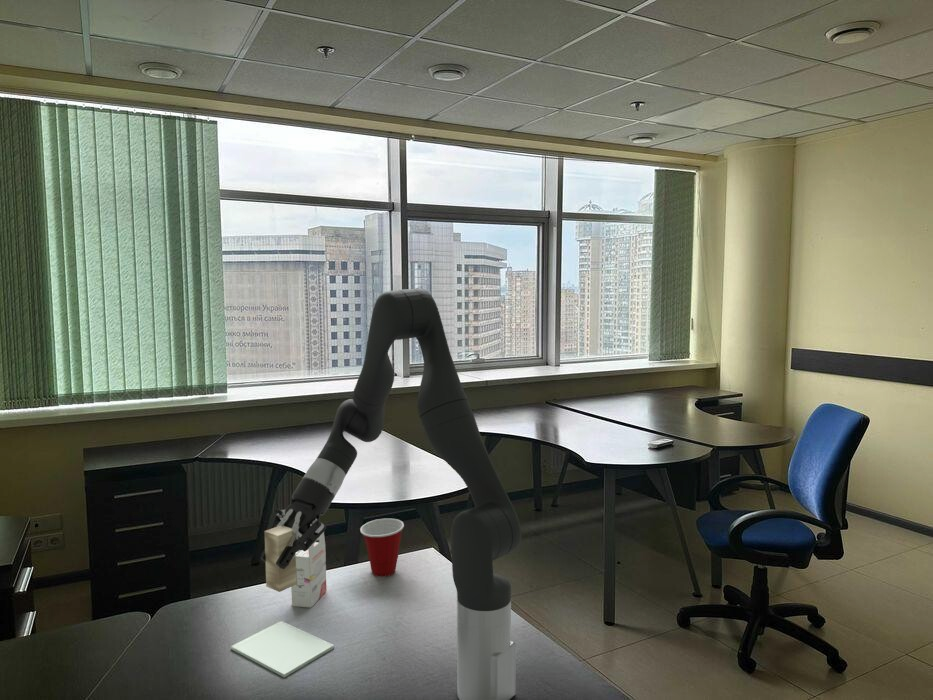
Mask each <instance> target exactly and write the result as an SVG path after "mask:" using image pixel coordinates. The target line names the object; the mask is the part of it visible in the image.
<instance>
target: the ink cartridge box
mask: <svg viewBox="0 0 933 700" xmlns="http://www.w3.org/2000/svg"><path fill="white" fill-rule="evenodd" d="M317 541H318V542H317ZM306 542H307V541H305V542H304V543H306ZM326 551H327V550H326V540H325V531H324V532H323V533H322V534H321V535H320V536H319V538H318V539H317V540H316V541H315V542H314V543H313V544H312V545H311V546H310V547H309V548H308V550H307V551H303V550H299V551H298V552H296V585H294V586H292V587H290V588H291V589H290V592H291V606H292V607H302V608H312V607H313V606H315V604H316V603H317V602H318V600H319V599H321V597H322V596H323V595H324V594H325V593H326V591H327V563H326V561H327V558H326V555H327V554H326Z"/></svg>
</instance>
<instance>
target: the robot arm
mask: <svg viewBox="0 0 933 700" xmlns="http://www.w3.org/2000/svg"><path fill="white" fill-rule="evenodd" d="M371 314H372V315H371V319H370V325H369V330H368V335H367V342H366V348H365V354H364V361H363V365H362V368H361V371H360V373H359V376H358V377H357V381H356V384H355V387H354V389H353V391H352V398H349V399H345V400H344V401H342V403H340V405H339V406H338V408H337V410H336V413H335V417H334V421H333V424H332V428H331V431H330V434H329V436H328V438H327V440H326V442H325V443H324V446H323V447H322V449H321V451H320V452H319V454H318V455H317V457H316V459H315V460H314V461H313V463H311V465H310V466H309V468H308V469H307V470H306V472H305V474H304V476H303V477H302V478H301V480H300V481H299V483H298V485H297V487H295V488H296V489H295V490H294V491H293V493H292V495H291V499H292V501H291V503H290V504H289V505H288V506H287V507H286V508H285V509H280V508H278V507H276V508H274V509H273V511H272V515H271V517H270V519H269V522H268V525H267V528H266V530H265V531H267V530H269V529H272V528H275V527H278V526H286V527H289V528H292V530H293V531H292V536H291V538H290V540H289V542H288V547H287V546H286V547H285V549H284V550H283V552H282V554H281V555H280V557H279V558H278V560H277V562H276V565H277V566H278V567H280V568H282V569H285V568H286V567H287V566H288V565H289V563H290V562H291V560H292V558H293V556H294V555H295V553H296V552H298V551H299V550H303V551H307V550H308V548H309V547H310V546H311V545H312V544H313V543H314V542H315V541H316V542H317V539H318V538H319V536H320V535H321V534H322V533H323V532H324V533H325V531H326V530H327V526H326V525H325V524H324V523H322V522H321V521H320V517H321V516H324V515H325V514H326V512H327V510H328V509H329V507H330V506H331V504H332V501H333V500H334V499H335V497H336V495H337V494H338V492H339V490H340V489H341V486H342V485H343V482H344V480H345V478H346V476H347V474H348V472H349V471H350V469H351V468H352V466H353V464H354V462H355V461H356V459H357V456H358V451H357V449H356V447H355V446H354V445H353V444H352V443H351V442H349V440H347V439H346V438H345V437H344V432H345V433H347V434H348V435H351V436H352V437H354V438H356V439H358V440H360V441H362V442H364V443H371V442H374V441H376V440H377V439H378V438H379V437H380V436H381V434H382V432H383V430H384V426H385V410H386V409H385V407H386V406H385V405H386V402H387V399H388V397H389V395H390V392H391V391H392V387H393V386H394V385H393V384H394V381H395V370H394V367H393V364H392V362H391V359H390V356H389V351H390V348H391V347H392V345H393V343H394V342H395V341H396V340H397V341H401V340H404V339H405V340H408V339H414V338H416V340H417V342H418V344H419V347H420V350H421V354H422V358H423V359H422V360H423V370H422V371H423V372H422V377H421V380H420V385H419V390H418V395H417V403H416V404H417V405H416V406H417V407H416V408H417V414H418V416H419V420H420V422H421V425H422V428H423V430H424V433H425V436H426V439H427V441H428V443H429V444H430V446H431V448H432V449H433V450H434V452H435V453H437V455H438V456H439V457H440V458H441V459H442V460H443V461H445V463H447V465H449V466H450V467H451V468H452V469H453V470H454V472H456V473H457V475H459V476H460V478H461V479H462V481H463V482H464V484H465V486H466V487H467V490H468V492H469V494H470V496H471V498H472V501H473V504H474V507H472V508H469V509H465V510H463V511H461V512H459V513H458V514H457V515H456V516H455V517H454V519H453V521H452V524H451V530H450V548H451V549H450V551H451V552H450V554H451V567H452V568H451V570H452V579H453V583H454V587H455V589H456V603H457V604H456V605H457V606H456V611H457V612H456V614H457V615H456V625H457V626H456V627H457V628H456V636H457V637H456V638H457V639H456V646H457V647H456V652H457V653H456V655H457V657H456V664H457V665H456V670H457V671H456V674H457V675H456V676H457V678H456V680H457V682H456V684H457V685H456V687H457V688H456V689H457V690H456V692H457V693H456V694H457V697H458V699H459V700H511V699H512V698H513V697H514V696H516V662H517V661H516V655H517V654H516V647H517V646H516V642H515V641H514V640H511V639H512V638H511V637H512V635H511V634H512V633H511V631H512V629H511V627H512V586H511V582H510V581H509V579H507V578H506V577H505V576H503V575H501V574H498V573H496V572H494V564H493V563H494V561H495V560H499V559H500V558H503V557H504V556H507V555H509V554H511V553H514V551H515V552H516V550H517V549H518V547H519V545H520V544H521V539H522V530H521V524H520V520H519V517H518V515H517V512H516V509H515V508H514V506H513V503H512V502H511V501H512V500H511V499H510V497H509V496H508V493H507V491H506V489H505V487H504V485H503V483H502V482H501V479H500V477H499V475H498V472H497V471H496V469H495V467H494V464H493V462H492V460H491V456H490V454H489V453H488V450H487V448H486V445H485V443H484V440H483V437H482V435H481V433H480V430H479V427H478V424H477V421H476V418H475V415H474V413H473V410H472V407H471V404H470V401H469V400H468V397H467V395H466V393H465V390H464V388H463V385H462V382H461V380H460V377H459V374H458V371H457V368H456V365H455V363H454V360H453V356H452V354H451V351H450V348H449V343H448V340H447V336H446V333H445V329H444V326H443V325H444V324H443V321H442V319H441V314H440V310H439V308H438V305H437V303H436V301H435V299H434V297H433V296H432V294H431V293H430V292H429V291H428V290H426V289H424V288H408V289H405V288H404V289H394V290H388V291H384V292H382V293H381V294H380V295H379V296H378V298H377V299H376V301H375V303H374V306H373V310H372V312H371ZM305 542H306V543H305ZM260 560H262V561H263V562H264V563H266V556H265V548H264V549H263V551H262V552H261V554H260Z"/></svg>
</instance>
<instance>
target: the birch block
mask: <svg viewBox="0 0 933 700" xmlns="http://www.w3.org/2000/svg"><path fill="white" fill-rule="evenodd" d="M266 530H267V529H266ZM266 530H264V549H265V556H266V562H265V582H266V583H265V584H266V585H265V586H266V587H267V588H269V589H271V590H274V591H276V592H278V593H281V592H283V591H284V590H287V589H289V588H291V587H292V586H294V585H296V553H295V555H294V556H293V558H292V560H291V562H290V563H289V565H288V566H287V567H286V568H285V569H282V568H280V567H278V566H277V565H276V562H277V560H278V558H279V557H280V555H281V554H282V552H283V550H284V549H285V547H286V546H287V547H288V542H289V540H290V538H291V536H292V531H293V530H292V528H289V527H286V526H278V527H275V528H272V529H269V530H267V531H266Z"/></svg>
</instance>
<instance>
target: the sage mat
mask: <svg viewBox="0 0 933 700" xmlns="http://www.w3.org/2000/svg"><path fill="white" fill-rule="evenodd" d="M334 648H335V644H332V643H331V642H329V641H325V640H324V639H322V638H320V637H318V636H315V635H314V634H311V633H309V632H307V631H304V630H302V629H299V628H298V627H295V626H293V625H291V624H288V623H286V622H284V621H282V620H280V621H278V622H277V623H275V624H273V625H270V626H269V627H268V626H267V628H264V629H262V630H261V631H258V632H257V633H255V634H252V635H251V636H249V637H246V638H245V639H243V640H241V641H238V642H237V643H234V644H233V645H231V646H230V649H231V650H232V651H234V652H235V653H238V654H239V655H242V656H243V657H244V658H247V659H249V660H250V661H252V662H254V663H256V664H258V665H260V666H262V667H263V668H266V669H267V670H269V671H271V672H273V673H276V675H279V676H280V677H283V678H286V677H288V676H290V675H292V674H293V673H295V672H296V671H298V670H299V669H301V668H303V667H305V666H306V665H308V664H310V663H311V662H313V661H315V660H316V659H319V658H320V657H321V656H323V655H325V654H326V653H328V652H329V651H332V650H333V649H334Z"/></svg>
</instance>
